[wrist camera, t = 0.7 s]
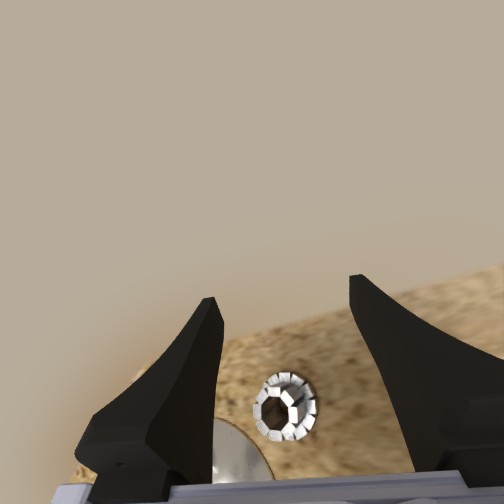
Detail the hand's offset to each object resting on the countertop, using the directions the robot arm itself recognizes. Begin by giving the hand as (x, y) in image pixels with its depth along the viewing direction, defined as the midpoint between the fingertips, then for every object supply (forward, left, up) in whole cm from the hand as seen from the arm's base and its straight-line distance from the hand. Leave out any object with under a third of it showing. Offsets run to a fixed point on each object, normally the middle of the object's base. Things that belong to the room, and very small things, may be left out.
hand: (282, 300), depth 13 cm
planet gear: (-7, +4, -15) cm, 17 cm away
